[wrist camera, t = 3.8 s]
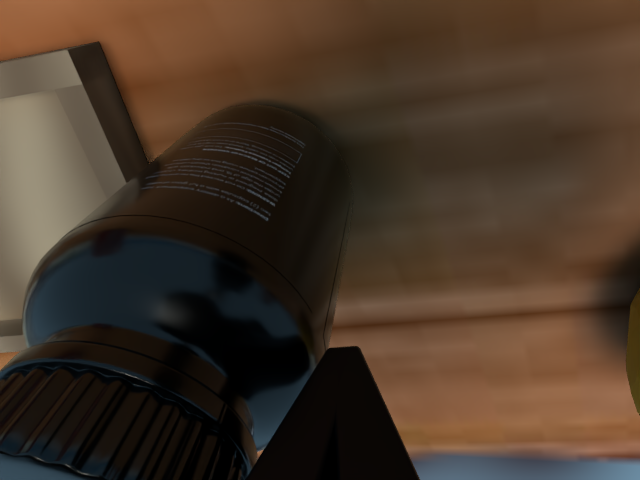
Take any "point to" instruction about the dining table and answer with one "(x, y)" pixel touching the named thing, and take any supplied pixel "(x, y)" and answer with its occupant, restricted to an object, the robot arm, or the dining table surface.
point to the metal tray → (55, 161)
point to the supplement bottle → (182, 309)
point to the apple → (634, 351)
